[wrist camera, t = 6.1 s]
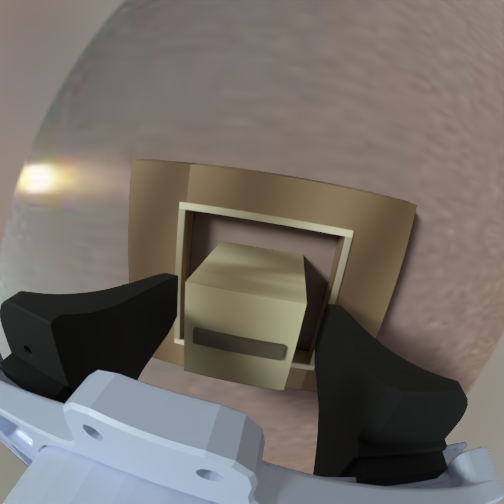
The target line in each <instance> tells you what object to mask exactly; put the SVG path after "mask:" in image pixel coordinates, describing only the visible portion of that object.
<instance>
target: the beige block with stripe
mask: <svg viewBox="0 0 504 504" xmlns="http://www.w3.org/2000/svg"><path fill="white" fill-rule="evenodd" d="M306 305H307V299H306V285H305V272H304V260H303V255H300V254H294V253H288V252H282V251H276V250H271V249H265V248H259V247H253V246H247V245H241V244H235V243H229V242H223V241H221V242H220V243H219V244H218V245H217V246H216V248H215V249H214V250H213V251H212V252H211V253H210V254H209V255H208V257H207V258H206V259H205V260H204V261H203V262H202V263H201V265H200V266H199V267H198V268H197V269H196V270H195V271H194V273H193V274H192V275H191V276H190V277H189V278H188V279H187V281H186V282H185V313H184V371H188V372H192V373H196V374H200V375H204V376H208V377H213V378H217V379H222V380H226V381H231V382H236V383H241V384H246V385H251V386H257V387H263V388H269V389H275V390H281V391H284V387H285V384H286V380H287V377H288V374H289V370H290V367H291V363H292V359H293V356H294V352H295V348H296V345H297V341H298V337H299V333H300V329H301V326H302V322H303V318H304V314H305V310H306Z"/></svg>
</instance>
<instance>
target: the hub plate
mask: <svg viewBox="0 0 504 504" xmlns="http://www.w3.org/2000/svg"><path fill="white" fill-rule="evenodd" d="M416 207H417V205H415V204H412V203H410V202H407V201H404V200H400V199H396V198H392V197H388V196H384V195H380V194H376V193H371V192H367V191H363V190H358V189H354V188H349V187H344V186H340V185H335V184H330V183H325V182H320V181H314V180H309V179H304V178H298V177H292V176H286V175H280V174H274V173H268V172H261V171H254V170H247V169H239V168H232V167H224V166H215V165H206V164H196V163H186V162H175V161H162V160H147V159H139V160H132V166H131V179H130V195H129V224H128V261H129V283H132V282H135V281H138V280H141V279H145V278H148V277H151V276H154V275H158V274H162V273H169V274H173V275H178V305H177V318H176V320H175V322H174V324H173V326H172V328H171V330H170V332H169V333H168V335H167V336H166V338H165V339H164V340H163V342H162V343H161V345H160V346H159V348H158V349H157V350H156V352H155V353H154V354H153V356H152V357H153V358H156V359H160V360H163V361H166V362H170V363H173V364H177V365H180V366H184V313H185V282H186V281H187V279H188V278H189V275H190V259H191V244H192V231H193V220H194V211H199V212H205V213H212V214H218V215H225V216H231V217H237V218H244V219H250V220H256V221H262V222H268V223H274V224H279V225H285V226H291V227H296V228H302V229H307V230H313V231H318V232H324V233H329V234H334V235H340V236H339V240H338V245H337V249H336V253H335V258H334V262H333V266H332V270H331V274H330V278H329V282H328V286H327V290H326V293H325V297H324V301H323V305H322V308H321V312H320V315H319V319H318V322H317V326H316V329H315V333H314V336H313V339H312V342H311V346H310V349H309V351H305V350H299V349H295V352H294V356H293V359H292V363H291V367H290V370H289V374H288V377H287V380H286V384H285V387H284V388H291V389H298V390H305V391H313V392H317V382H316V373H315V363H314V358H315V341H316V338H317V335H318V332H319V328H320V325H321V322H322V318H323V315H324V311H325V308H326V304H327V303H328V304H335V305H341V306H342V307H343V308H344V309H345V310H346V311H347V312H348V313H349V314H350V315H351V316H352V317H353V318H354V319H355V320H356V321H357V322H358V323H359V324H360V325H361V326H362V327H363V328H364V329H365V330H366V331H367V332H369V333H370V334H371V335H372V336H373V337H374V338H375V339H376V336H377V334H378V331H379V329H380V326H381V324H382V321H383V319H384V316H385V313H386V310H387V308H388V305H389V302H390V299H391V296H392V293H393V290H394V287H395V284H396V281H397V278H398V275H399V272H400V269H401V265H402V262H403V258H404V255H405V251H406V248H407V244H408V240H409V236H410V233H411V228H412V224H413V220H414V216H415V211H416Z"/></svg>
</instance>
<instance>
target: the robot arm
mask: <svg viewBox="0 0 504 504" xmlns="http://www.w3.org/2000/svg"><path fill="white" fill-rule="evenodd" d="M177 305H178V275H173V274H169V273H162V274H158V275H154V276H151V277H148V278H145V279H141V280H138V281H135V282H132V283H129V284H125V285H122V286H118V287H114V288H110V289H106V290H101V291H95V292H88V293H77V294H42V293H33V292H25V291H21V292H18V293H17V294H15V295H14V296H12V297H10V298H9V299H7V300H6V301H4V302H3V303H2V305H1V309H0V318H1V323H2V327H3V330H4V333H5V336H6V339H7V341H8V344H9V347H10V350H11V352H12V353H11V354H10V355H9V356H8V357H7V358H5V359H4V360H3V358H2V356H1V354H0V440H1V442H3V443H4V444H5V445H6V446H7V447H8V448H9V449H10V450H11V451H12V452H13V453H14V454H15V455H16V456H18V457H19V458H20V459H21V460H22V461H23V462H24V463H26V464H27V465H28V466H29V467H28V469H27V470H26V471H25V473H24V474H23V475H22V477H21V478H20V480H19V481H18V483H17V484H16V485H15V487H14V488H13V489H12V491H11V492H10V494H9V495H8V497H7V498H6V499H5V501H4V502H3V504H496V503H497V502H498V501H500V500H501V499H502V498H503V496H504V494H503V491H502V488H501V485H500V482H499V480H498V477H497V474H496V472H495V469H494V466H493V464H492V461H491V459H490V456H489V454H488V452H487V449H486V447H480V448H477V449H473V450H469V451H465V452H463V449H464V448H465V447H466V445H467V444H466V442H462V443H457V444H452V445H446V442H445V438H446V437H447V435H448V434H449V433H450V432H451V431H452V430H453V428H454V427H455V426H456V425H457V423H458V422H459V421H460V419H461V418H462V416H463V415H464V413H465V410H466V408H467V397H466V395H465V393H464V392H463V390H462V388H461V386H460V384H459V382H458V381H455V380H452V379H448V378H445V377H442V376H439V375H436V374H434V373H431V372H429V371H427V370H424V369H422V368H420V367H418V366H416V365H414V364H412V363H410V362H408V361H407V360H405V359H403V358H401V357H400V356H398V355H397V354H395V353H394V352H392V351H391V350H389V349H388V348H387V347H385V346H384V345H383V344H381V343H380V342H379V341H378V340H376V339H375V338H374V337H373V336H372V335H371V334H370V333H369V332H367V331H366V330H365V329H364V328H363V327H362V326H361V325H360V324H359V323H358V322H357V321H356V320H355V319H354V318H353V317H352V316H351V315H350V314H349V313H348V312H347V311H346V310H345V309H344V308H343V307H342V306H341V305H335V304H328V303H327V304H326V308H325V311H324V315H323V318H322V322H321V325H320V328H319V332H318V335H317V338H316V341H315V358H314V363H315V373H316V382H317V392H318V402H319V419H318V436H317V448H316V457H315V465H314V473H313V475H312V474H308V473H304V472H300V471H296V470H292V469H289V468H285V467H282V466H278V465H275V464H272V463H268V462H265V461H262V457H263V450H264V444H265V441H264V435H263V430H262V428H261V427H260V426H259V425H257V424H256V423H255V422H254V421H253V420H252V419H250V418H249V417H248V416H247V415H246V414H244V413H242V412H239V411H237V410H234V409H231V408H229V407H226V406H224V405H221V404H217V403H213V402H208V401H204V400H200V399H197V398H193V397H189V396H186V395H182V394H179V393H175V392H172V391H168V390H165V389H162V388H159V387H156V386H153V385H150V384H147V383H144V382H141V381H138V378H139V376H140V374H141V372H142V370H143V369H144V367H145V366H146V364H147V363H148V361H149V360H150V359H151V357H152V356H153V354H154V353H155V352H156V350H157V349H158V348H159V346H160V345H161V343H162V342H163V340H164V339H165V338H166V336H167V335H168V333H169V332H170V330H171V328H172V326H173V324H174V322H175V320H176V318H177Z"/></svg>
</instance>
